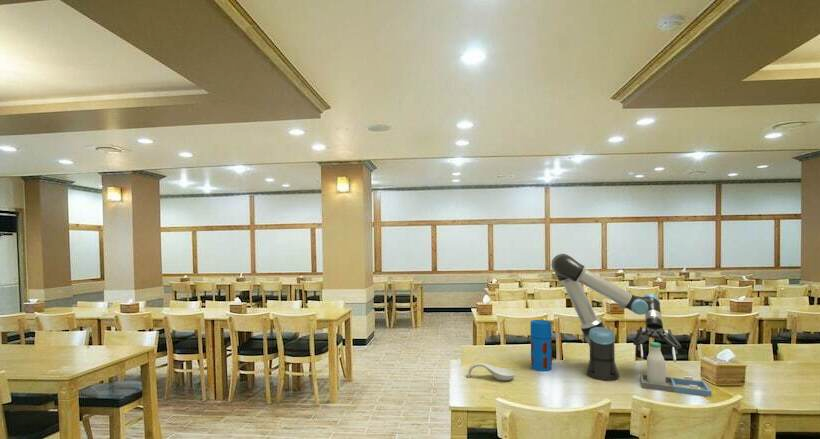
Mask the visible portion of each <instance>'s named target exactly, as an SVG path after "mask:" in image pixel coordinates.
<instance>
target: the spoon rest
mask: <svg viewBox="0 0 820 439" xmlns="http://www.w3.org/2000/svg"><path fill="white" fill-rule="evenodd" d="M477 367H482V368H484V369H486V370H487V371H488V372H489V373H490V374H491V375H492V376H493V377H494V378H495V379H496V380H497V381H502V382H507V381H510V380H512V379H514V377H515V376H516V372H515V371H513V370H511V369H509V368H504V367H499V366H496V365H492V364H489V363H485V362H476V363H473V364H472V365H471V366H469V368H468V372H467V378H470V377H471V374H472V370H473V369H475V368H477Z"/></svg>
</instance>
